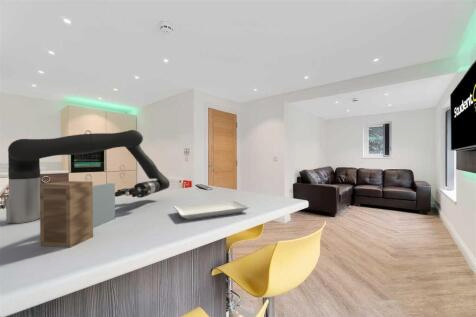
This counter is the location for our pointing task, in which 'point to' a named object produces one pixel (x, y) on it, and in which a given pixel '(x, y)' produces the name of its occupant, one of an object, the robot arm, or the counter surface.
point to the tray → (210, 209)
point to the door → (103, 204)
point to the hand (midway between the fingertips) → (124, 194)
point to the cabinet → (66, 213)
